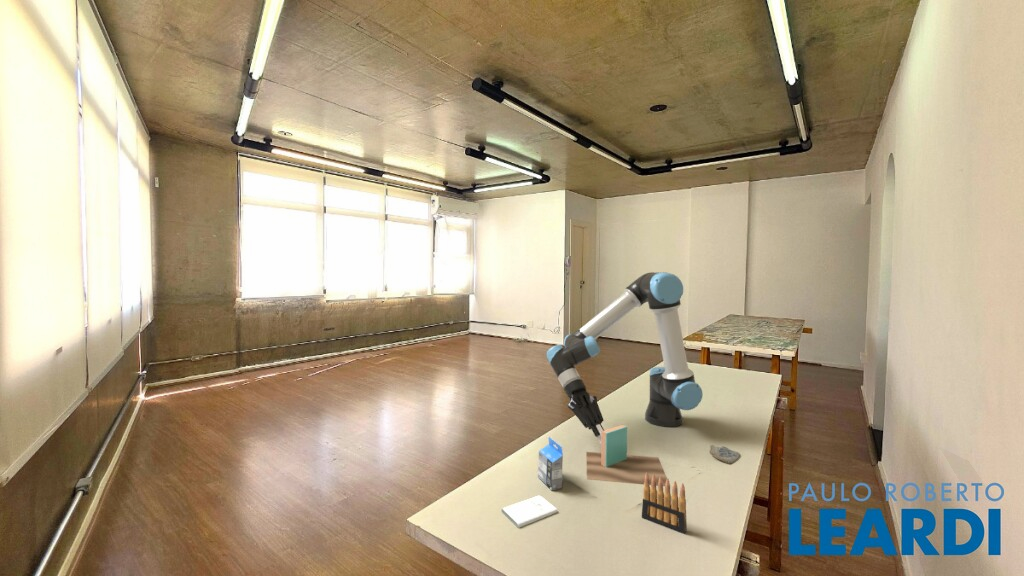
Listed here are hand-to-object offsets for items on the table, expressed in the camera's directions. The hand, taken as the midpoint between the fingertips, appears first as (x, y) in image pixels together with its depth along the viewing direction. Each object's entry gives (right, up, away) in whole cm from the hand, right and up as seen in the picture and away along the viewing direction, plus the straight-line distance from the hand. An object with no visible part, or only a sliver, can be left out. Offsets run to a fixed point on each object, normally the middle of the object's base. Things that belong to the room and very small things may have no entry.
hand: (605, 444), depth 135 cm
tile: (+2, -5, -2) cm, 6 cm away
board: (+5, -6, -6) cm, 10 cm away
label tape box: (-20, -7, -13) cm, 25 cm away
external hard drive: (-27, -8, -28) cm, 40 cm away
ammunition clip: (+7, -7, -33) cm, 35 cm away
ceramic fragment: (+41, -6, +5) cm, 42 cm away
